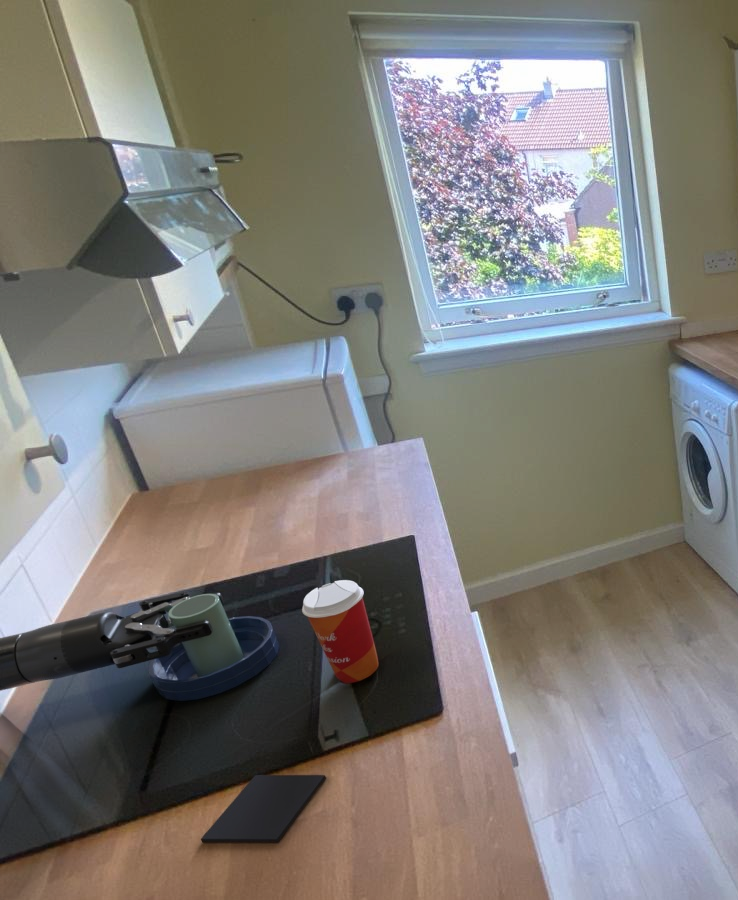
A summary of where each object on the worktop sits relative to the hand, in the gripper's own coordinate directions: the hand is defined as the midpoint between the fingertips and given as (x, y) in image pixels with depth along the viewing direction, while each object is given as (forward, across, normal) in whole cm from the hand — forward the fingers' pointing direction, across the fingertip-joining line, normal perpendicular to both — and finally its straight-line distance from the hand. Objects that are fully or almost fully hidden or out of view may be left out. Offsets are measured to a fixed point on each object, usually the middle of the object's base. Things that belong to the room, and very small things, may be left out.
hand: (216, 612), depth 108 cm
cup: (-2, 0, +9) cm, 9 cm away
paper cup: (+17, -11, +10) cm, 22 cm away
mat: (+8, -34, +10) cm, 36 cm away
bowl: (-2, 0, +10) cm, 10 cm away
